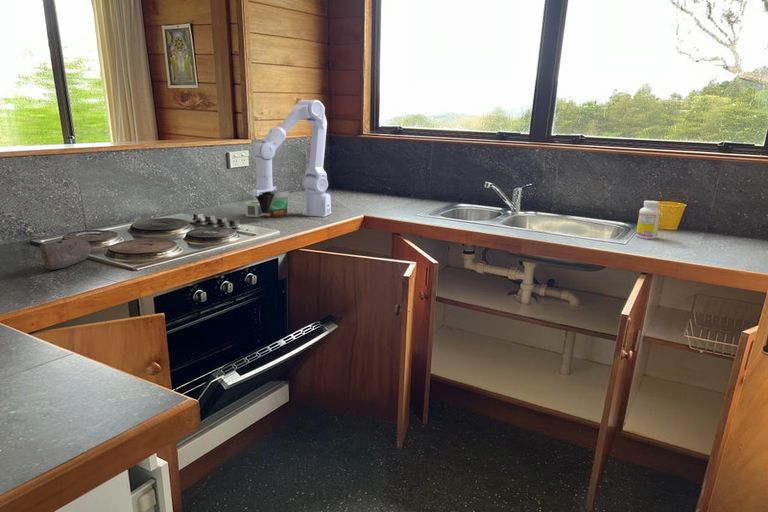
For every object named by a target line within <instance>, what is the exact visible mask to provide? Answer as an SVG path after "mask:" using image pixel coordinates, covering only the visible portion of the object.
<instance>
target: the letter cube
mask: <svg viewBox="0 0 768 512" xmlns="http://www.w3.org/2000/svg"><path fill="white" fill-rule="evenodd" d="M244 206H245V216H246V217H252V218H253V217H254V218H259V217H262V216H264V213H262V210H261V207H260V204H259V201H250V202H245V204H244Z"/></svg>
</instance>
